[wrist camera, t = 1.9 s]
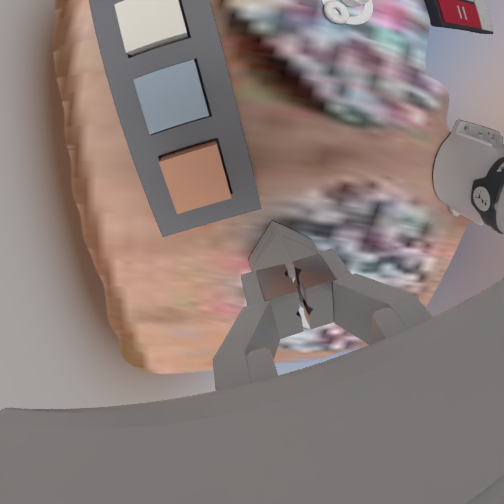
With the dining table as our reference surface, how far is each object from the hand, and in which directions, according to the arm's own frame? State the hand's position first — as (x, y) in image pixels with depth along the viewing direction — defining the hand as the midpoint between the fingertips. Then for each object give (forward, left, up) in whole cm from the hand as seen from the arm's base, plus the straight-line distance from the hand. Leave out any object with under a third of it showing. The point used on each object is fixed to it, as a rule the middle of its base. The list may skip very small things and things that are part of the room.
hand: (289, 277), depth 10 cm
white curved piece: (-18, -18, -30) cm, 39 cm away
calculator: (-43, -20, -30) cm, 56 cm away
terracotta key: (+4, +2, -25) cm, 26 cm away
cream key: (+4, -16, -25) cm, 30 cm away
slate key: (+4, -7, -25) cm, 27 cm away
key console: (+4, -7, -29) cm, 30 cm away
